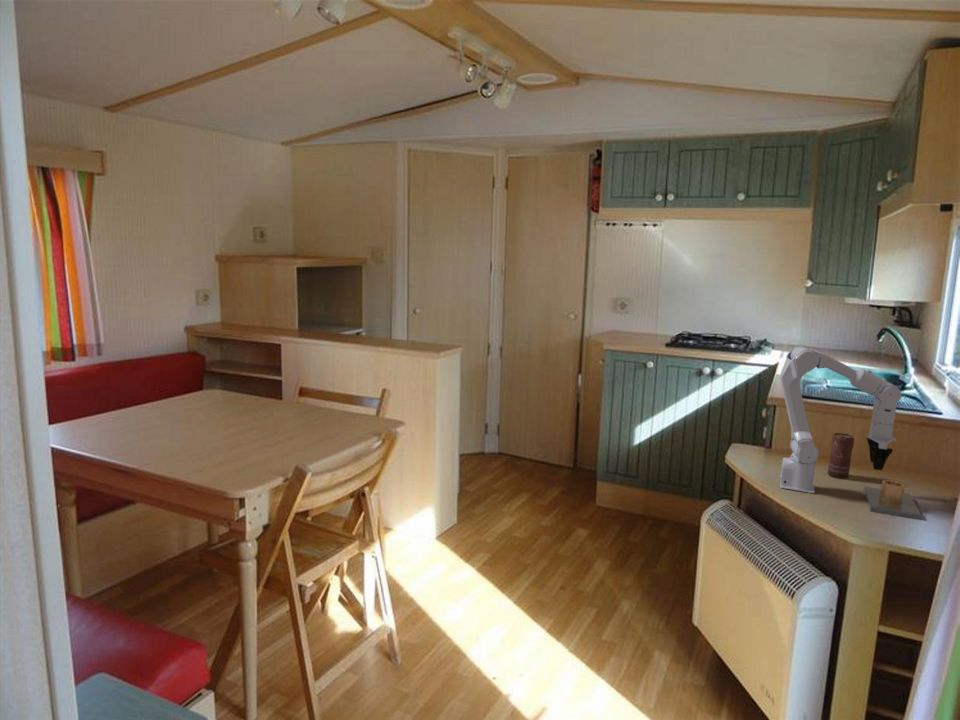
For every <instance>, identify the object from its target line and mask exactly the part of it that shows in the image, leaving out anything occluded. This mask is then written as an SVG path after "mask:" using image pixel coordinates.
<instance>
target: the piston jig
mask: <svg viewBox="0 0 960 720" xmlns="http://www.w3.org/2000/svg"><path fill="white" fill-rule="evenodd" d="M888 484H890V485H894V486H898V485H896V484H891V483H888ZM862 489H863V490H862V491H863V494H864V497H865V500H866V503H867V506H868V508H869V511H870V512H872V513H873V512H874V513H879V514H884V515H891V516H896V517H903V518H908V519H914V520H918V521H919V520H921V518H922V517H921V515H922V514H921V513H920V510H919V508H918V506H917V505H916V503H915V501H914V499H913V497H912V495H911V494H910V493H907V492H904V494H903V501H902V503H890V502H886V501H883V500H882V499H880V491H881V488H875V487H870V486H863V488H862Z"/></svg>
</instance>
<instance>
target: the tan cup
mask: <svg viewBox="0 0 960 720" xmlns="http://www.w3.org/2000/svg"><path fill="white" fill-rule="evenodd" d="M888 483H891V484H896V485H898V486H894V485H890V484H888ZM905 487H906V486H905V484H904V483H902V482H899V481H896V480H890V479H887V480H886V479H885V480H881V485H880V489H881V491H880V499H882V500H883V501H886V502H890V503H902V501H903V494H904V493H905Z"/></svg>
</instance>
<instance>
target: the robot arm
mask: <svg viewBox="0 0 960 720" xmlns="http://www.w3.org/2000/svg"><path fill="white" fill-rule="evenodd" d="M785 357H786V358H785V361H784V364H783V367H782V369H781V371H780V372H779V373H780V374H779V378H780V382H781V389H782V393H783V398H784V401H785V406H786V412H787V416H788V420H789V424H790V429H791V431H790V437H791V439H790V443H789V447H790V450H791V452H792V453H791V455H790V457H783V458H782V463H781V471H780V472H781V473H780V474H779V479H778V480H779V483H780V485H779V487H780V488H781V489H785V490H786V489H787V490H792V491H798V492H803V493H809V494H815V485H814V480H815V479H814V478H815V470H816V465H817V460H818V458H819V456H820V451H819V448H818V446H816V444H815V442H814V439H813V436H812V433H811V432H810V428H809V423H808V419H807V413H806V409H805V404H804V400H803V395H802V391H801V386H800V380H801V379H802V378H803V377H804V376H805V375H806V374H807V373H809V372H811V371H812V370H814V369H820V370H821V369H827V370H828V369H829V370H830V371H832V372H835V373H837V374H838V375H841V376H842V377H844V378H847V379H849V383H850V385H851V386H852V387H854V388H856V389H858V390H860V391H862V392H863V393H866V394H868V395H869V396H873V397H874V401H873V405H872V407H873V408H872V415H871V420H870V429H869V434H868V437H866V441H867V444H868V447H869V448H868V449H869V450H868V451H869V459H870V462H871V463H872V465H873V467H872V468H873V470H876V471H877V470H878V471H883V469H884V467H885V464H886V461H887V460H888V458H889V457H890V455H891V454H892V453H893V451H894V450H893V449H892V448H889V447H888V445H889V444H890V443H891V442H897V438H896V437H894V436H893V430H894V424H895V417H896V411H897V403H899V401H901V399H902V393H901V390H900V388H899V387H898V386H896V385H894V384H893V383H891V382H889V381H888V380H887V379H886V378H884V377H882V378H881V377H879V376H878V375H876V374H874V373H873V371H872V370H870V369H869V368H866V369H863V368H860V369H854V368H852V367H850V366H848V365H846V364H845V363H842V362H841V361H839V360H837V359H835V358H833V357H831V356H830V355H828V354H826V353H824V352H821V351H818V350H816V349H810V348H809V347H807V346H805V345H796V346H795V347H793V348H792V349H791V350H790V351H789V352H788V353H787V354H786V355H785Z"/></svg>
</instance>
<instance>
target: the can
mask: <svg viewBox="0 0 960 720" xmlns="http://www.w3.org/2000/svg"><path fill="white" fill-rule="evenodd" d="M854 444H855V437H854V436H853V435H851V434H846V433H842V432H841V433H840V432H837V433H833V435H832V438H831V444H830V445H831V446H830V452H829V458H828V459H829V461H828V467H827V474H828V476H830V477H832V478H834V479H838V480H839V479H841V480H844V479H845V480H846V479H848V478H849V477H850V476H849V475H850V469H851V461H852V455H853V448H854Z"/></svg>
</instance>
